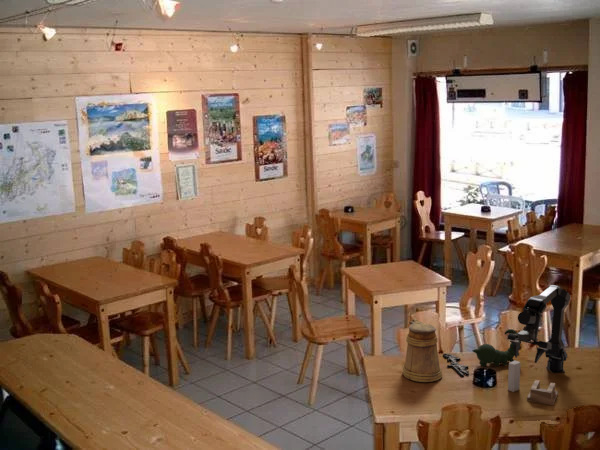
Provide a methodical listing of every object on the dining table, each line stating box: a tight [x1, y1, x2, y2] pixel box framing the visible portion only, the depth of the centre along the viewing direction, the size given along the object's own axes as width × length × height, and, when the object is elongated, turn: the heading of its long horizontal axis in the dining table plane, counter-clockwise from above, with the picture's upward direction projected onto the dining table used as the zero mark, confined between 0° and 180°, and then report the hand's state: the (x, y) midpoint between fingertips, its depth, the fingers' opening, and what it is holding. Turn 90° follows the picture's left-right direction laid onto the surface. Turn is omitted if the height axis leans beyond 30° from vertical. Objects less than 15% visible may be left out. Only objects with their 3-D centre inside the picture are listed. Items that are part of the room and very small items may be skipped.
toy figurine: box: [472, 328, 522, 368], centre depth 352 cm, size 9×19×25 cm
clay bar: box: [507, 360, 522, 393], centre depth 324 cm, size 4×3×13 cm, turn 128°
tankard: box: [402, 317, 443, 383], centre depth 342 cm, size 18×24×25 cm
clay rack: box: [526, 379, 559, 406], centre depth 316 cm, size 12×11×6 cm
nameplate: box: [442, 353, 470, 378], centre depth 353 cm, size 27×2×10 cm
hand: (525, 360), depth 320 cm, fingers open, 9 cm apart
